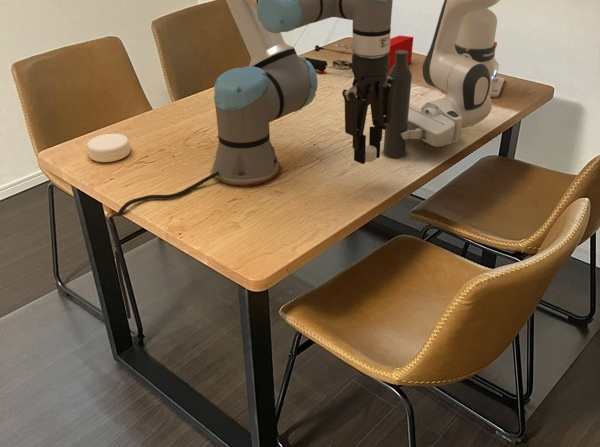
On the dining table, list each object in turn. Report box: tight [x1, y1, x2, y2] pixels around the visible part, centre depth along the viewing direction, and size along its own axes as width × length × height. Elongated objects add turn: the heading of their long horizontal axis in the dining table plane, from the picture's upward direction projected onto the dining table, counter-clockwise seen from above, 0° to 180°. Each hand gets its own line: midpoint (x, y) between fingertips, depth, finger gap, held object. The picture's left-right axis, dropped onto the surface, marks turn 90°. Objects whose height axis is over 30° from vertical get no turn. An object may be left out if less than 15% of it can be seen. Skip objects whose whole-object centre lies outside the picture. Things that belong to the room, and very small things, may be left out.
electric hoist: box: [302, 35, 414, 75], centre depth 208 cm, size 10×27×30 cm
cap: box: [365, 144, 377, 163], centre depth 136 cm, size 4×4×2 cm
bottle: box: [382, 50, 413, 159], centre depth 146 cm, size 5×5×25 cm
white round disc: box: [86, 133, 131, 163], centre depth 153 cm, size 10×10×4 cm
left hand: (366, 158), depth 137 cm, fingers closed on cap, 4 cm apart
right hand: (393, 130), depth 149 cm, fingers closed on bottle, 5 cm apart
